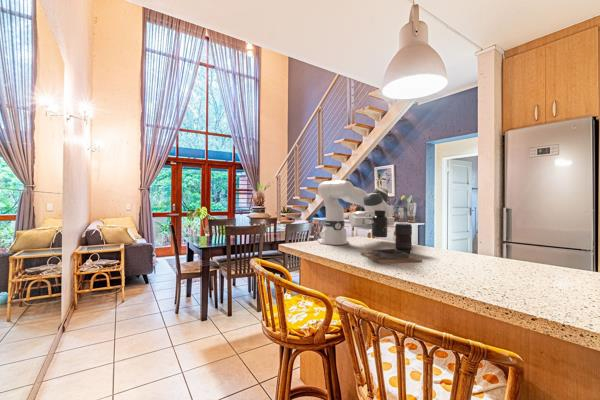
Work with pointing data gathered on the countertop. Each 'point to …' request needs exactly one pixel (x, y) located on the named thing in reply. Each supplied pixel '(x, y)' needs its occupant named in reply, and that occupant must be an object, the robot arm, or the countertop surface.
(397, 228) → the camera lens
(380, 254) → the collar dock
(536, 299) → the countertop surface
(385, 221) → the supplement bottle
